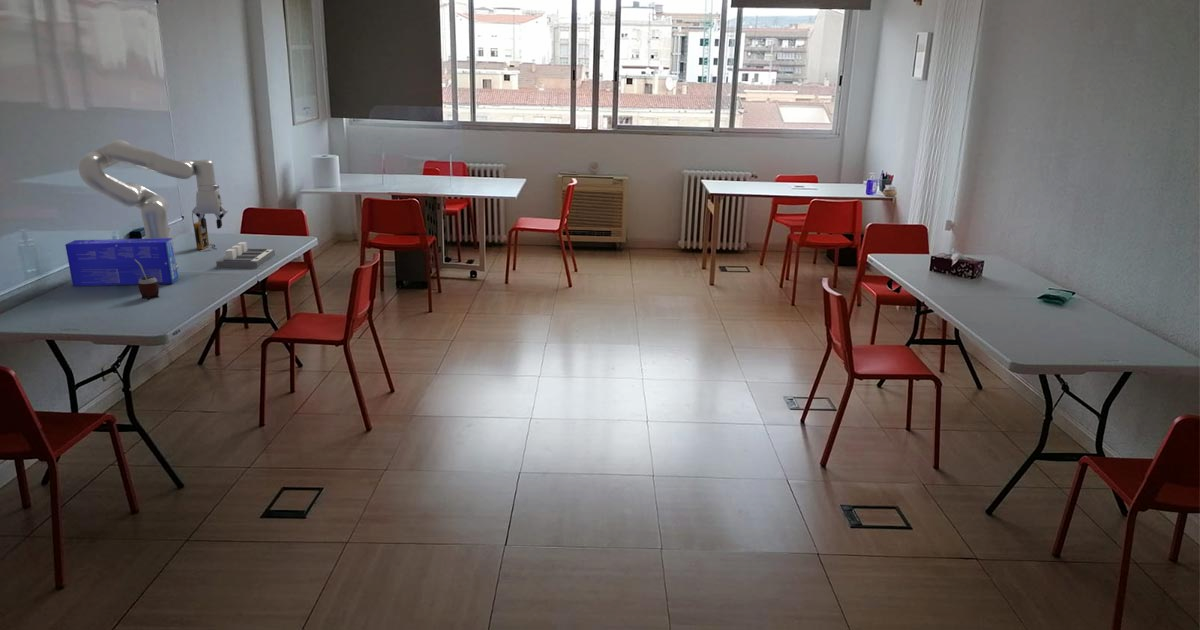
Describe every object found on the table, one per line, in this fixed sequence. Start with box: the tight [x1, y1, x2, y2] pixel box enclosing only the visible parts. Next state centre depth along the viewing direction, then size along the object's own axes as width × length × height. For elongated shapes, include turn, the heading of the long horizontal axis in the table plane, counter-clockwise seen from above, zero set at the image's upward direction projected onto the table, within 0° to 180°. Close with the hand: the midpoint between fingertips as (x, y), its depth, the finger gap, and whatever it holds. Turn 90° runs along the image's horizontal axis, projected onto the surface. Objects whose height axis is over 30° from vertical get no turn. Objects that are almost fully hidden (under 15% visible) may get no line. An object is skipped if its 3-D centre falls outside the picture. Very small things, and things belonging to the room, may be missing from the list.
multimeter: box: [191, 211, 218, 252], centre depth 401 cm, size 15×10×20 cm
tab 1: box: [225, 248, 236, 259], centre depth 372 cm, size 4×3×4 cm
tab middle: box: [230, 244, 242, 255], centre depth 379 cm, size 4×3×4 cm
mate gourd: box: [135, 259, 160, 301], centre depth 321 cm, size 8×8×15 cm
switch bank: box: [215, 248, 276, 269], centre depth 380 cm, size 24×18×4 cm
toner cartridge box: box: [64, 237, 179, 287], centre depth 340 cm, size 39×8×18 cm, turn 98°
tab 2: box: [236, 241, 249, 252], centre depth 385 cm, size 4×3×4 cm
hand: (212, 227), depth 368 cm, fingers open, 5 cm apart
